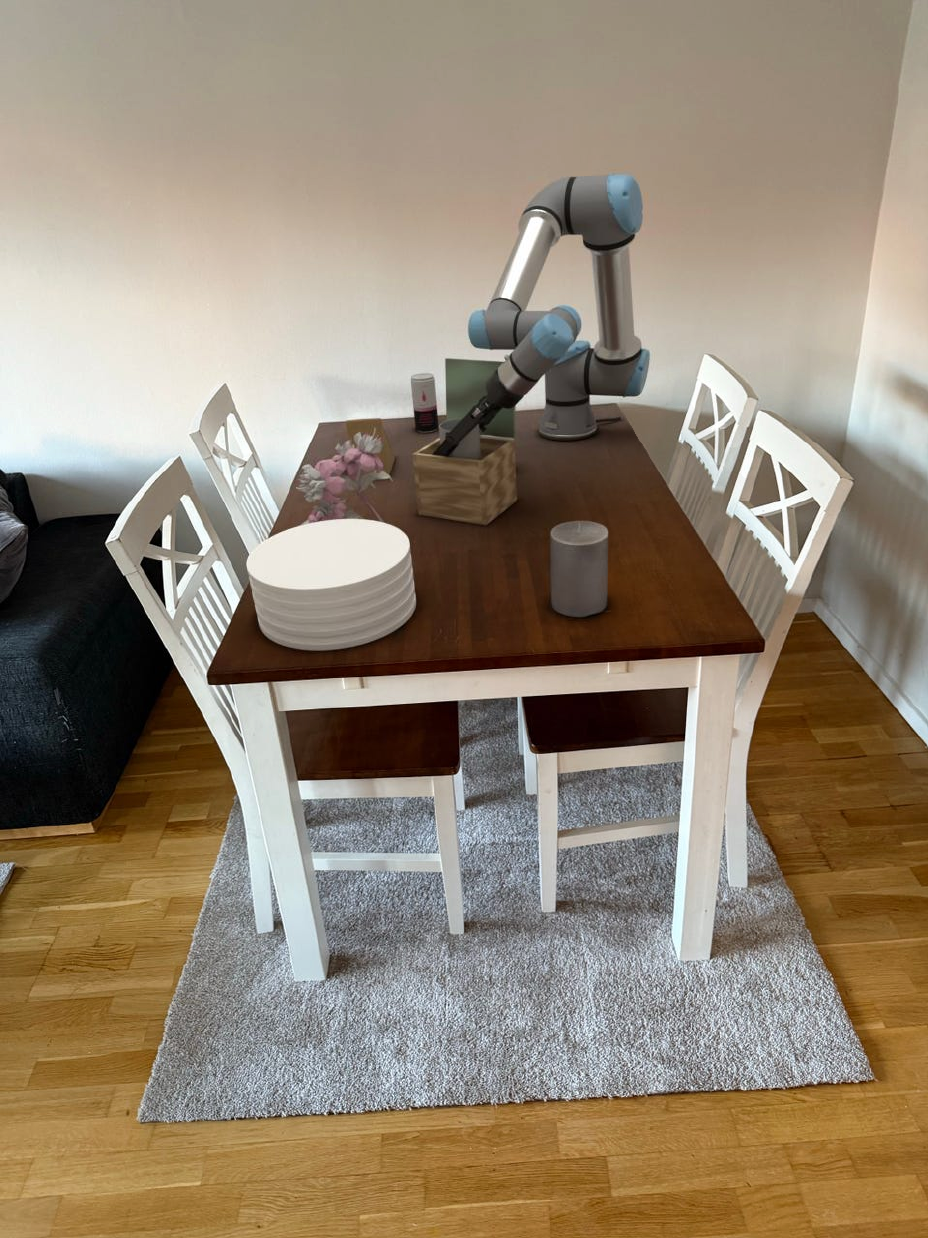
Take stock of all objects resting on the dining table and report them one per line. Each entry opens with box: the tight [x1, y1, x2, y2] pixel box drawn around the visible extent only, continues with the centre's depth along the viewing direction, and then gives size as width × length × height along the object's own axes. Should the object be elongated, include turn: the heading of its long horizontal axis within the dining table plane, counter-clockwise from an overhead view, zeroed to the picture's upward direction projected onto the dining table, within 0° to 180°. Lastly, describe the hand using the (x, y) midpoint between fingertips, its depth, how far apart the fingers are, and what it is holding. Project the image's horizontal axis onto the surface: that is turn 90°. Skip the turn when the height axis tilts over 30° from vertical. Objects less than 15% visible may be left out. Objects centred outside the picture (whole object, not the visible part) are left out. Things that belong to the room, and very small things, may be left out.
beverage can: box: [410, 372, 440, 434], centre depth 240 cm, size 7×7×15 cm
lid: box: [444, 357, 517, 439], centre depth 187 cm, size 16×17×1 cm
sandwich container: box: [345, 417, 396, 476], centre depth 215 cm, size 9×15×15 cm, turn 177°
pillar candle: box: [549, 520, 609, 618], centre depth 147 cm, size 10×10×15 cm
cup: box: [438, 419, 481, 461], centre depth 184 cm, size 8×8×10 cm
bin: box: [412, 435, 518, 526], centre depth 189 cm, size 15×17×14 cm
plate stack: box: [246, 518, 417, 652], centre depth 152 cm, size 28×28×12 cm
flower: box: [295, 428, 394, 526], centre depth 176 cm, size 20×22×25 cm
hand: (447, 452), depth 186 cm, fingers closed on cup, 8 cm apart
